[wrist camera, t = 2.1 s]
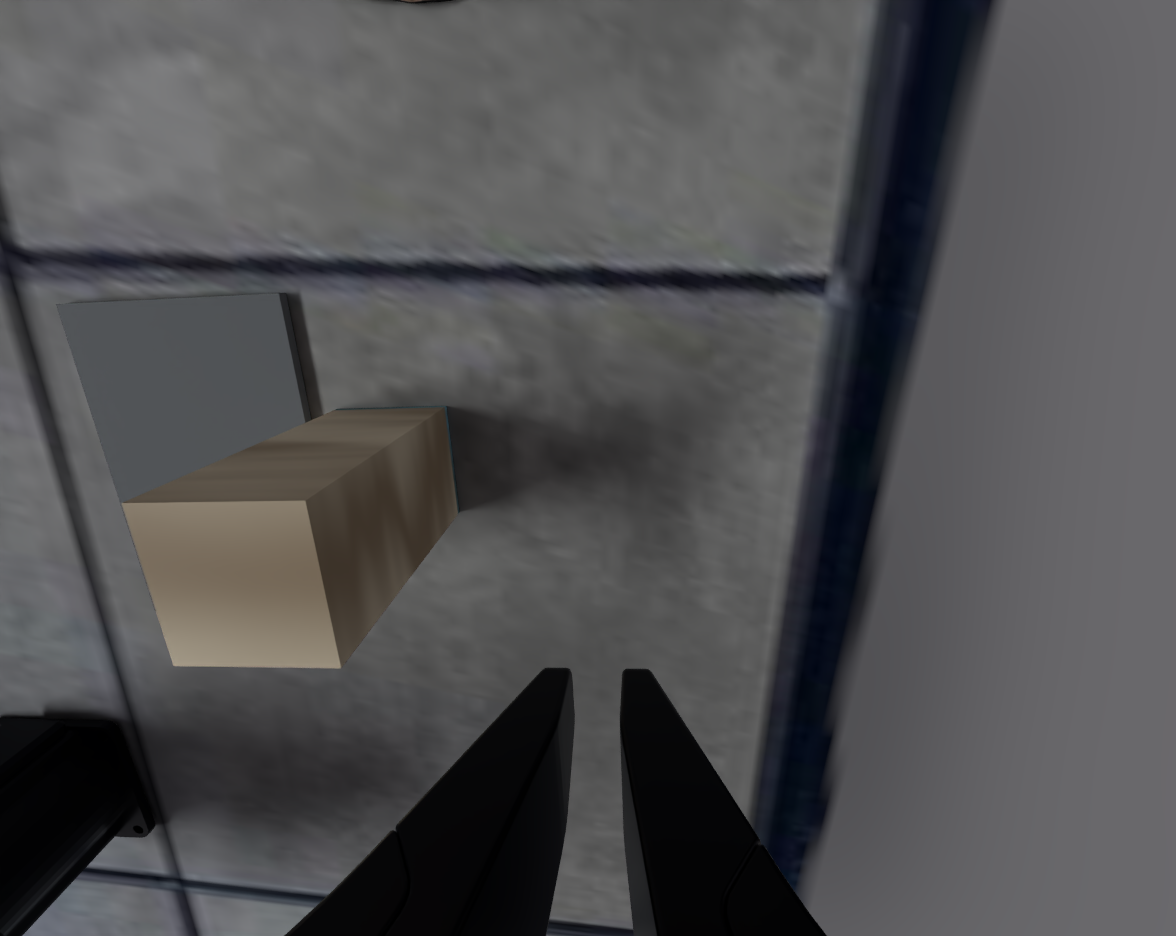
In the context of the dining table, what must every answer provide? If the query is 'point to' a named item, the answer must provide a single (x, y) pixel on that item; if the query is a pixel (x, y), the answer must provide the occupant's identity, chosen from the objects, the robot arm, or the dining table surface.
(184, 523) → the oak block
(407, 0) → the shell
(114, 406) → the mat
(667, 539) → the dining table surface
